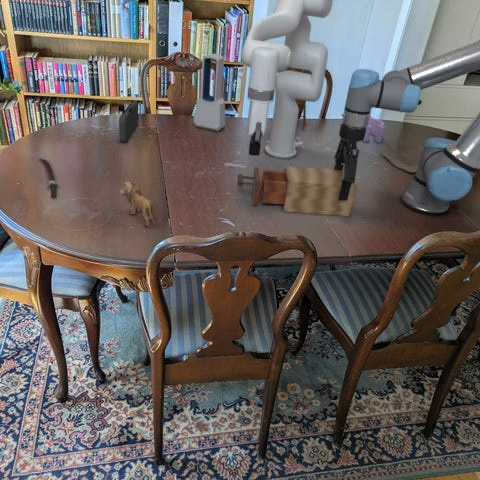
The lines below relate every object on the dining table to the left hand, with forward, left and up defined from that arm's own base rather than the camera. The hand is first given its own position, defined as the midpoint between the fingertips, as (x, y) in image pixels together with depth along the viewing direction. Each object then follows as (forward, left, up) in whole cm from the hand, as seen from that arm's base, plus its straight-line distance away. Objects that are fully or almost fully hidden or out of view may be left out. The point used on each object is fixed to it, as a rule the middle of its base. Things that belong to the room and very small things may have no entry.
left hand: (253, 154), depth 142 cm
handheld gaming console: (+14, -67, -16) cm, 71 cm away
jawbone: (-77, -1, -16) cm, 78 cm away
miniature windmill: (-61, -52, -16) cm, 82 cm away
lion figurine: (+36, -4, -16) cm, 39 cm away
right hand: (-24, +15, -10) cm, 30 cm away
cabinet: (-18, +11, -16) cm, 27 cm away
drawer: (-7, +4, -15) cm, 17 cm away
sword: (+53, -38, -16) cm, 68 cm away
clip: (-86, -33, -16) cm, 93 cm away
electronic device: (-21, -63, -16) cm, 69 cm away
